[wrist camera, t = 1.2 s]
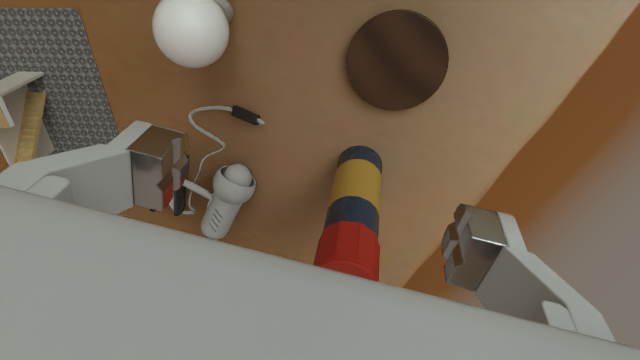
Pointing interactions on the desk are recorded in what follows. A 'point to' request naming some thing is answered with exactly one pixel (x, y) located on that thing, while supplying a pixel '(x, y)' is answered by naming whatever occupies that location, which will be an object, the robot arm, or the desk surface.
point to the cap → (349, 250)
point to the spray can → (356, 189)
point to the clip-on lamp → (219, 184)
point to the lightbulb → (192, 30)
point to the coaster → (397, 59)
